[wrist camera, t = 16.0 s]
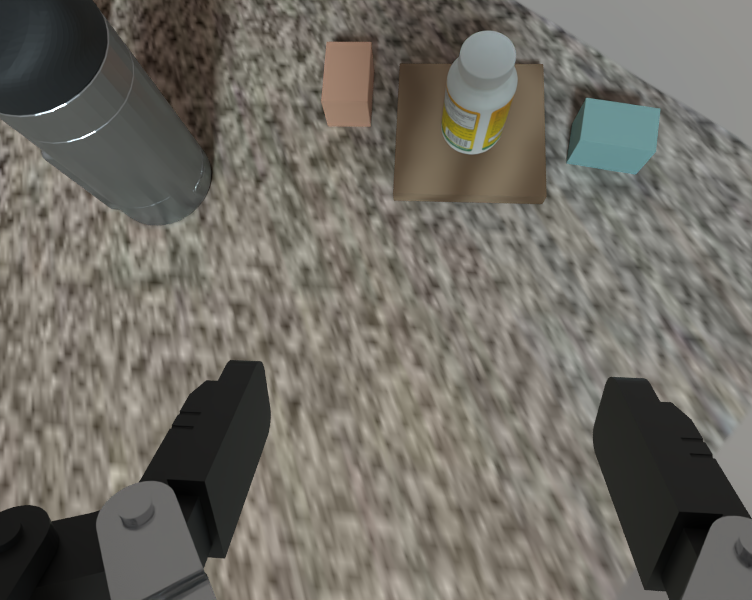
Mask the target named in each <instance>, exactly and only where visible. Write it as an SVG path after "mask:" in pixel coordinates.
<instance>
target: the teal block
mask: <svg viewBox="0 0 752 600" xmlns="http://www.w3.org/2000/svg"><path fill="white" fill-rule="evenodd" d="M659 117H660V109H659V108H652V107H645V106H639V105H632V104H625V103H618V102H612V101H605V100H598V99H592V98H586V99H585V101H584V103H583V105H582V107H581V108H580V110H579V112H578V114H577V116H576V118H575V120H574V122H573V123H572V129H571V136H570V142H569V149H568V156H567V163H568V164H574V165H580V166H587V167H593V168H599V169H605V170H611V171H617V172H624V173H630V174H637V172H638V171H639V170H640V169H641V168H642V167H643V166H644V165H645V163H646V162H647V161H648V160H649V159H650V158H651V157H652V156H653V154H654V153H655V152H656V145H657V136H658V126H659Z"/></svg>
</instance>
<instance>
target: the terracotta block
mask: <svg viewBox="0 0 752 600" xmlns="http://www.w3.org/2000/svg"><path fill="white" fill-rule="evenodd" d="M373 82H374V64H373V54H372V44H371V42H327V44H326V55H325V66H324V77H323V89H322V100H321V102H322V105H323V109H324V113H325V116H326V120H327V124H328V126H356V127H371V114H372V98H373Z"/></svg>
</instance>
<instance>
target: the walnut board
mask: <svg viewBox="0 0 752 600" xmlns="http://www.w3.org/2000/svg"><path fill="white" fill-rule="evenodd" d="M451 65H452V64H403V63H400V70H399V90H398V110H397V129H396V149H395V169H394V189H393V196H394V201H435V202H476V203H518V204H542V203H543V202H544V200H545V198H546V157H545V116H544V74H543V64H515V65H514V67H515V69H516V72H517V77H518V82H517V88H516V91H515V95H514V98H513V100H512V103H511V106H510V109H509V112H508V115H507V118H506V121H505V125H504V128H503V131H502V134H501V136H500V138H499V140H498V141H497V142H496V144H495V145H494V146H493V147H491V148H490V149H489V150H487V151H485V152H482V153H479V154H464V153H461V152H458V151H456V150H454V149H453V148H452V147H451V146H450V145H449V144H448V143H447V142H446V141H445V139H444V137H443V134H442V129H441V123H442V115H443V107H444V99H445V90H446V82H447V76H448V72H449V69H450V67H451Z"/></svg>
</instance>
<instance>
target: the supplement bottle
mask: <svg viewBox="0 0 752 600" xmlns="http://www.w3.org/2000/svg"><path fill="white" fill-rule="evenodd" d="M515 61H516V50H515V47H514V45H513V43H512V42H511V40H510V39H509V38H508V37H506V36H505V35H503V34H501V33H499V32H496V31H481V32H477V33H475V34H473V35H471V36H470V37H469V38H467V39H466V40H465V42H464V43H463V45H462V47H461V50H460V54H459V57H458V58H457V59H456V60H455V61H454V62H453V64H452V65H451V67H450V69H449V72H448V76H447V82H446V90H445V99H444V107H443V115H442V123H441V129H442V134H443V137H444V139H445V141H446V142H447V143H448V144H449V145H450V146H451V147H452V148H453V149H454V150H456V151H458V152H461V153H464V154H479V153H482V152H485V151H487V150H489V149H490V148H491V147H493V146H494V145H495V144H496V142H497V141H498V140H499V138H500V136H501V134H502V131H503V128H504V125H505V121H506V118H507V115H508V112H509V109H510V106H511V103H512V100H513V98H514V95H515V91H516V88H517V82H518V77H517V72H516V69H515V67H514V65H515Z"/></svg>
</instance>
